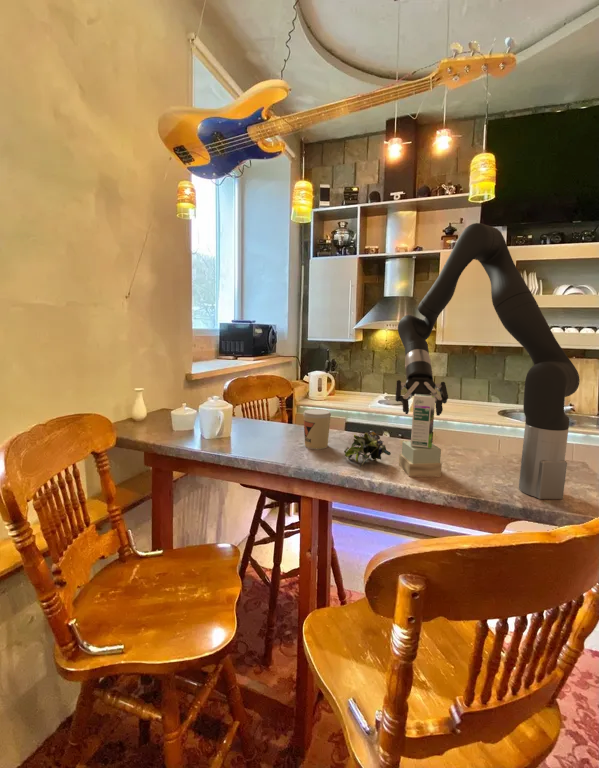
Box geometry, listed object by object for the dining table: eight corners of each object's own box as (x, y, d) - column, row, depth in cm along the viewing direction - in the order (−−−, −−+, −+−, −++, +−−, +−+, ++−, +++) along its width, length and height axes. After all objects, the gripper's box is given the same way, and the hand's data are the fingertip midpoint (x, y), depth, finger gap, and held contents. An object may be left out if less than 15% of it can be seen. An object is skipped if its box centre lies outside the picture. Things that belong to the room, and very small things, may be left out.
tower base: (440, 477, 113) (441, 463, 112) (409, 478, 112) (409, 464, 111) (428, 466, 122) (428, 453, 121) (398, 466, 121) (399, 453, 120)
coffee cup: (299, 443, 141) (299, 409, 140) (324, 441, 144) (325, 408, 142) (307, 451, 133) (308, 415, 131) (334, 448, 135) (335, 413, 134)
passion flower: (372, 476, 126) (397, 448, 123) (360, 481, 116) (387, 451, 113) (346, 451, 131) (370, 423, 127) (333, 454, 121) (358, 424, 118)
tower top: (440, 463, 113) (441, 449, 112) (412, 463, 112) (413, 449, 111) (427, 453, 121) (428, 440, 120) (401, 454, 120) (402, 441, 119)
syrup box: (410, 446, 114) (413, 395, 112) (410, 441, 119) (414, 392, 117) (431, 448, 112) (435, 397, 110) (431, 443, 118) (435, 394, 116)
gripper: (395, 359, 120) (398, 404, 110) (445, 360, 118) (452, 407, 109) (392, 374, 126) (395, 419, 116) (440, 376, 124) (446, 421, 115)
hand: (423, 413), depth 113 cm, fingers open, 8 cm apart
